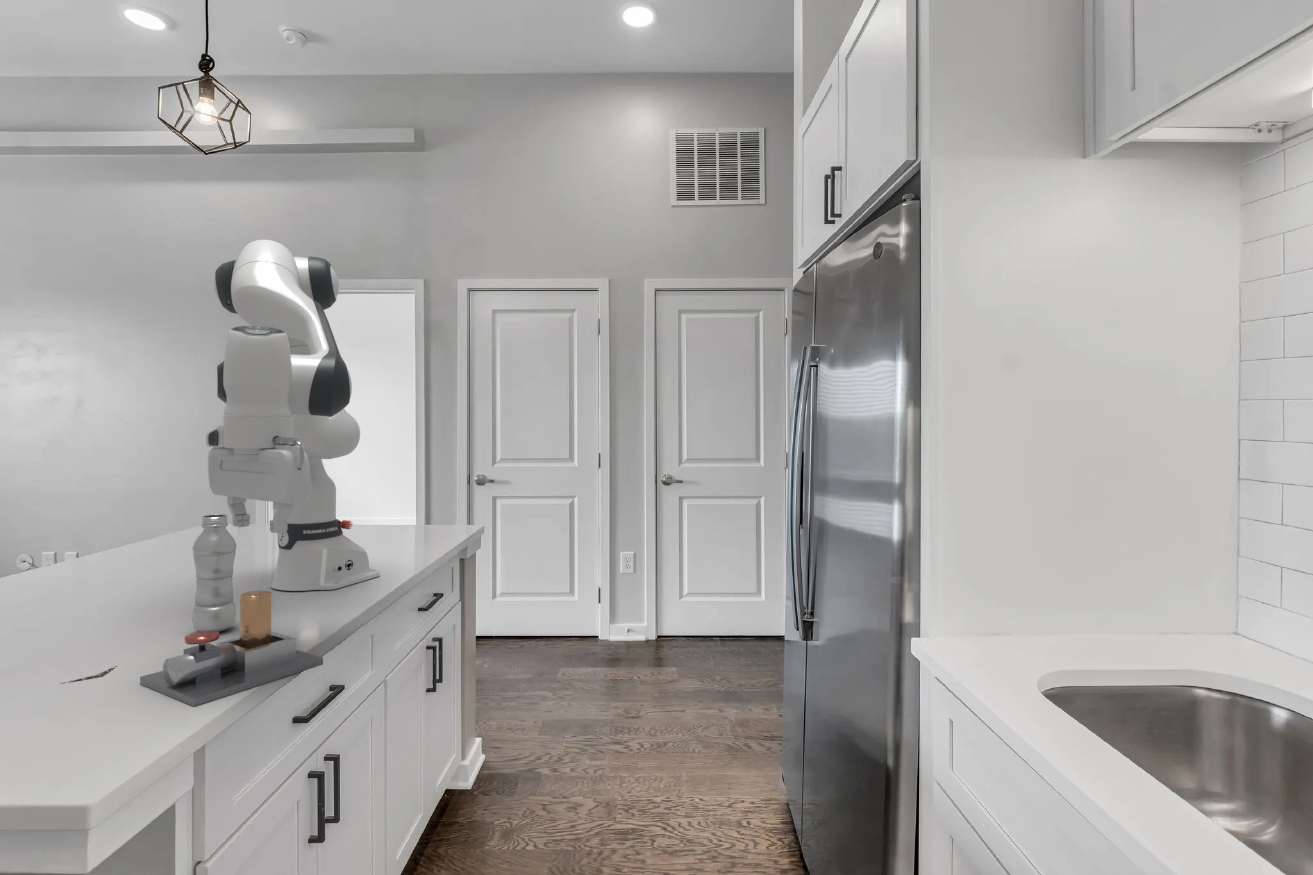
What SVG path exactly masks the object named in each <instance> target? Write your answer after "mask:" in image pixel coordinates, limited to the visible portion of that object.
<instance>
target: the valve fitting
mask: <svg viewBox="0 0 1313 875" xmlns="http://www.w3.org/2000/svg"><path fill="white" fill-rule="evenodd" d="M219 639H220V631H219V632H217V631H203V632H198V631H197V632H193V633H190V634H187V635H186V636H184V644H187V645H196V646H192V647H188V648H184V649H183V654H182V655H181V654H180V655H177V656H174V657H168V658H166V659H165V660H164V662H163V665H162V670H160V671H156V672H153V673H149V674H146V675H143V676H140V677H139V684H140V685H141V686H143V687H146V688H149V689H151V690H153V691H156V692H157V693H160V694H163V695H165V696H167V697H170V698H172V699H175V700H177V701H179V702H182V703H183V704H187V705H190V706H192V707H196V706H197V707H198V706H201V705H203V704H206V703H209V702H213V701H215V700H218V699H222V698H225V697H227V696H231V695H234V694H236V693H240V692H242V691H246V690H249V689H253V688H255V687H259V686H261V685H265V684H268V683H271V682H274V681H277V680H279V679H283V678H287V677H289V676H292V675H295V674H299V673H301V672H304V671H308V670H311V669H314V668H317V667H320V666H322V665H324V658H323V657H321V656H318V655H314V654H312V653H308V652H305V651H300V650H297V638H295V637H292V636H288V635H285V634H281V633H278V632H274V631H271V643H270V644H266V645H262V646H259V647H255V648H252V649H245V648H242V647H240V636H239V637H235V638H230V639H227V640H224V641H220V642H216V643H215V644H212V642H215V641H217V640H219Z"/></svg>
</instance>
